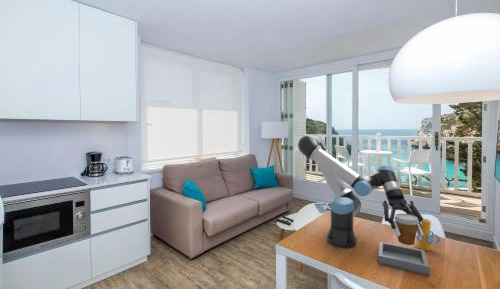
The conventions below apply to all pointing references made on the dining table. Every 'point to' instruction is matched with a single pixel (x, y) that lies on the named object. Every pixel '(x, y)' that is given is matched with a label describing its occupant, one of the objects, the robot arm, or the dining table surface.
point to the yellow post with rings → (426, 236)
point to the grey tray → (403, 258)
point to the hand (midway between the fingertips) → (410, 235)
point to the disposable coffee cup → (407, 228)
